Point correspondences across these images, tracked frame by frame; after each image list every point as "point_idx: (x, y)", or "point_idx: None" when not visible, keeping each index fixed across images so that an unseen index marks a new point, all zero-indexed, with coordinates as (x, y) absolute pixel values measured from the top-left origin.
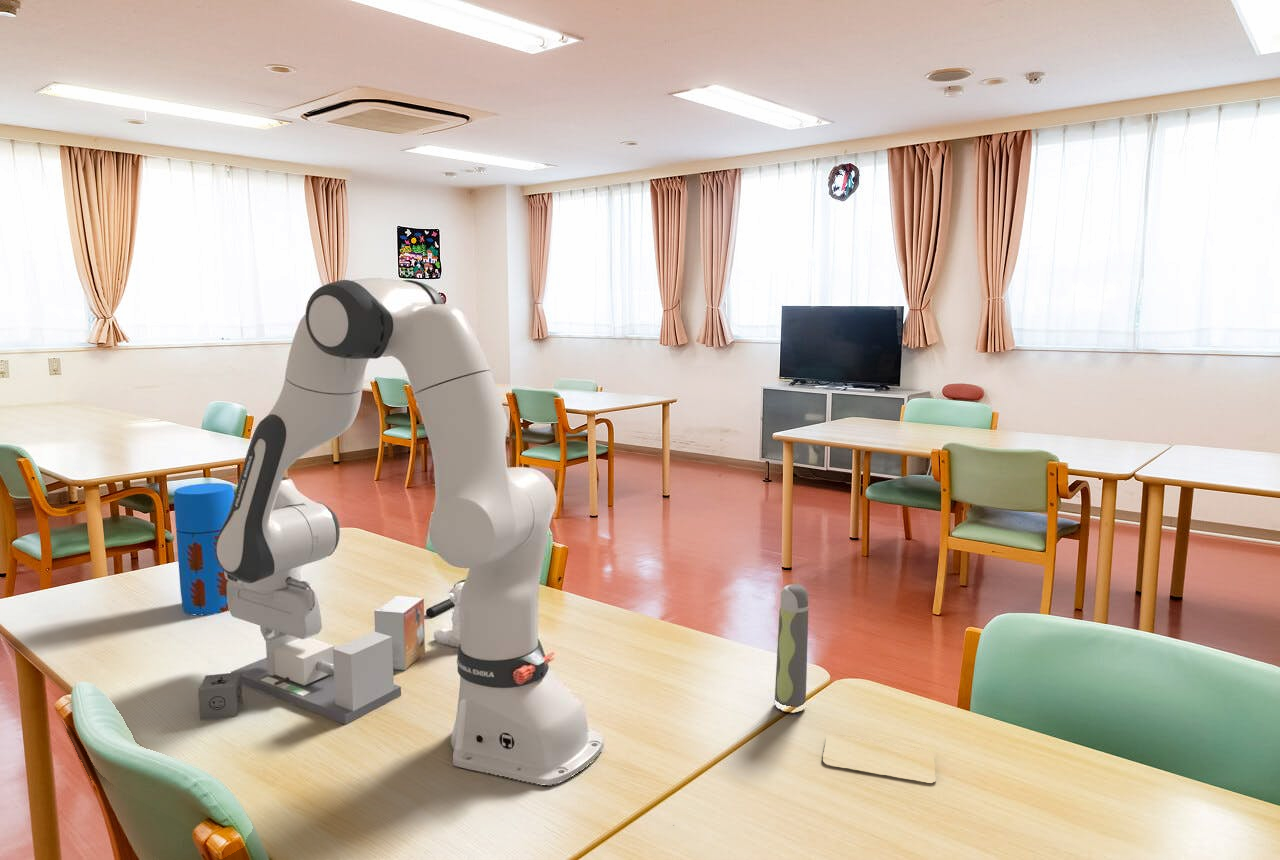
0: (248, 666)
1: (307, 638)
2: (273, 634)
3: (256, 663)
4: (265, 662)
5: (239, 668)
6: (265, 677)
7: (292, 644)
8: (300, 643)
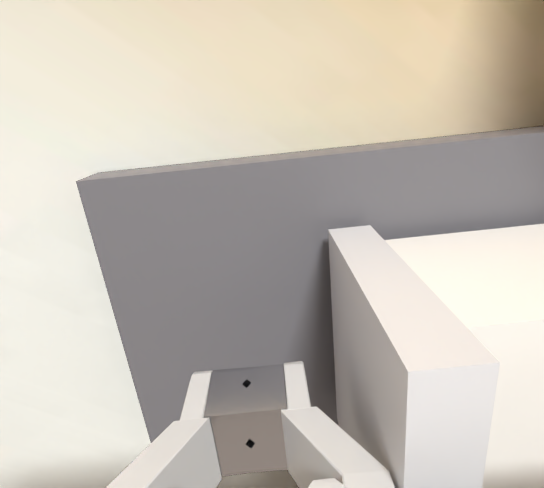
0: (158, 408)
1: (507, 342)
2: (187, 468)
3: (151, 375)
4: (173, 347)
5: (150, 436)
6: (330, 414)
7: (490, 462)
8: (536, 424)
